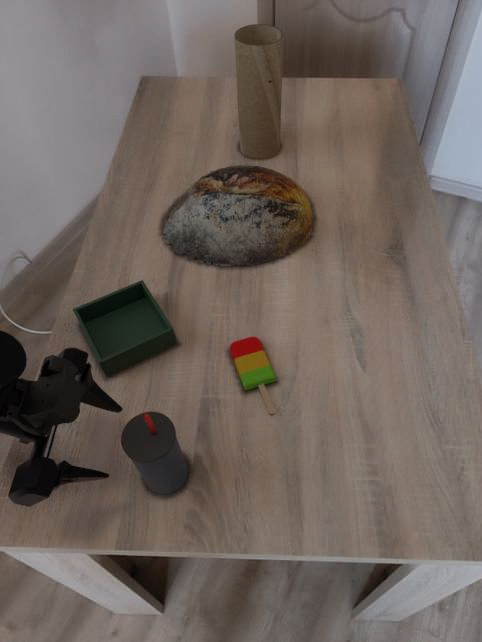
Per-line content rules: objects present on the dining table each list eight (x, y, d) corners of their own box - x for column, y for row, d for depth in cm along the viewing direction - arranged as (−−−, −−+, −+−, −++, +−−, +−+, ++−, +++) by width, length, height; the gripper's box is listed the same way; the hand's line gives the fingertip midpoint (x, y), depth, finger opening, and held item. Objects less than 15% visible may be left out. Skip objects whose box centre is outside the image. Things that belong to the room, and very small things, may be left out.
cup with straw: (154, 504, 68) (123, 456, 53) (136, 465, 71) (101, 409, 56) (197, 480, 70) (178, 427, 55) (177, 443, 73) (154, 383, 58)
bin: (106, 377, 80) (99, 363, 76) (80, 324, 86) (72, 308, 83) (177, 344, 84) (173, 328, 80) (147, 295, 90) (142, 279, 87)
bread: (324, 260, 95) (329, 221, 87) (161, 272, 94) (151, 233, 85) (304, 176, 111) (307, 136, 103) (164, 186, 109) (155, 146, 101)
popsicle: (257, 339, 84) (257, 333, 83) (288, 411, 76) (289, 405, 75) (228, 348, 83) (227, 342, 82) (256, 421, 75) (256, 416, 74)
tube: (287, 144, 118) (292, 32, 98) (264, 163, 114) (264, 50, 93) (255, 131, 122) (253, 20, 101) (231, 149, 117) (224, 37, 96)
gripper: (-14, 463, 43) (136, 501, 52) (43, 303, 53) (159, 358, 62) (-52, 491, 49) (87, 520, 58) (5, 343, 60) (115, 388, 69)
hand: (114, 442), depth 62 cm, fingers open, 9 cm apart
